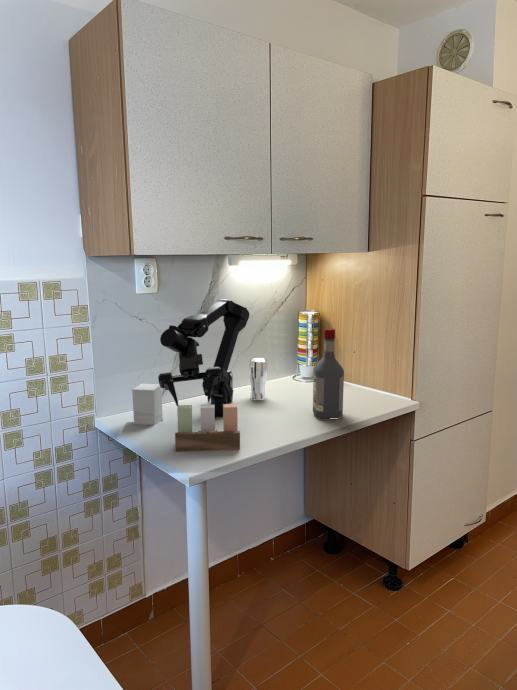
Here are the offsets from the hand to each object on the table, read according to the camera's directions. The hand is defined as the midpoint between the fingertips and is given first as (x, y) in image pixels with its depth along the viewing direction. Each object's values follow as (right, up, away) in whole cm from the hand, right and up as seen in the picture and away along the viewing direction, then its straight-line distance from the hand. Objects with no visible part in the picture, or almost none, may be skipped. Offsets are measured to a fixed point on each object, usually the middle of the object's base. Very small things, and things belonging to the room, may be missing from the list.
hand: (193, 404), depth 159 cm
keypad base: (+5, -12, -5) cm, 14 cm away
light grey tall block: (+5, -11, -3) cm, 12 cm away
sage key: (-2, -11, -4) cm, 12 cm away
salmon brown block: (+11, -11, -3) cm, 16 cm away
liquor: (+43, -7, +25) cm, 50 cm away
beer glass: (+19, -3, +45) cm, 49 cm away
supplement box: (-16, -8, +16) cm, 24 cm away
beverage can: (+7, -4, +41) cm, 41 cm away
